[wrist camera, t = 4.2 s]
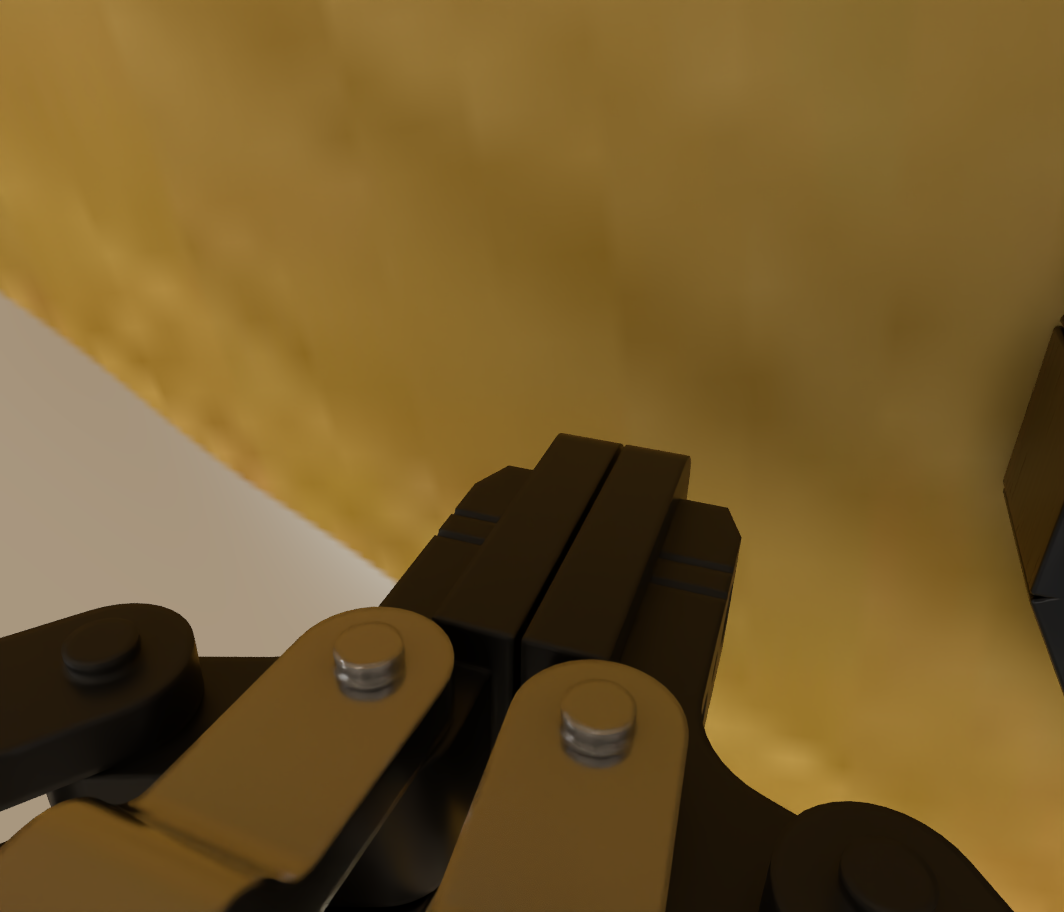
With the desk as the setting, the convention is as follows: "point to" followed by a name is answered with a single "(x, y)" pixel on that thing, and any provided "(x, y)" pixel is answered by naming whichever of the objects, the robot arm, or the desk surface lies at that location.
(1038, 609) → the pan
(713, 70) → the desk surface
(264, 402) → the desk surface
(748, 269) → the desk surface
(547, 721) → the robot arm
